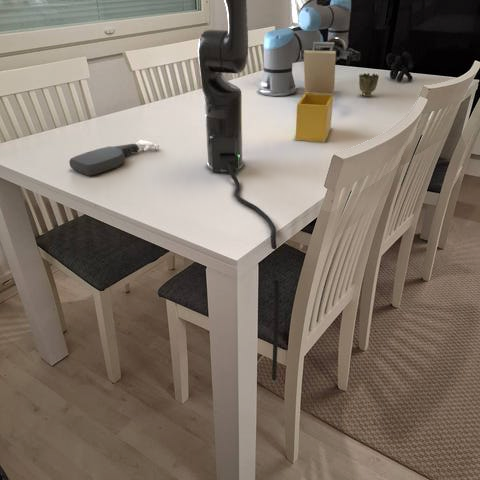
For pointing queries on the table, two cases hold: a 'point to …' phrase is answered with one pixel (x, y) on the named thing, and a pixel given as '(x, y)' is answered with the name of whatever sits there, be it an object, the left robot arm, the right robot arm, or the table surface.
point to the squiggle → (399, 66)
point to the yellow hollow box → (314, 117)
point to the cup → (367, 83)
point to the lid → (320, 69)
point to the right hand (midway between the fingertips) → (326, 59)
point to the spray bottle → (106, 157)
